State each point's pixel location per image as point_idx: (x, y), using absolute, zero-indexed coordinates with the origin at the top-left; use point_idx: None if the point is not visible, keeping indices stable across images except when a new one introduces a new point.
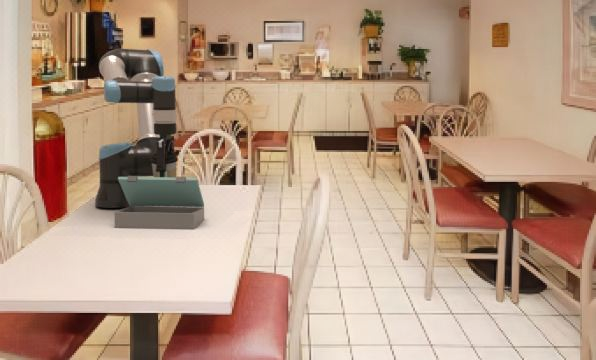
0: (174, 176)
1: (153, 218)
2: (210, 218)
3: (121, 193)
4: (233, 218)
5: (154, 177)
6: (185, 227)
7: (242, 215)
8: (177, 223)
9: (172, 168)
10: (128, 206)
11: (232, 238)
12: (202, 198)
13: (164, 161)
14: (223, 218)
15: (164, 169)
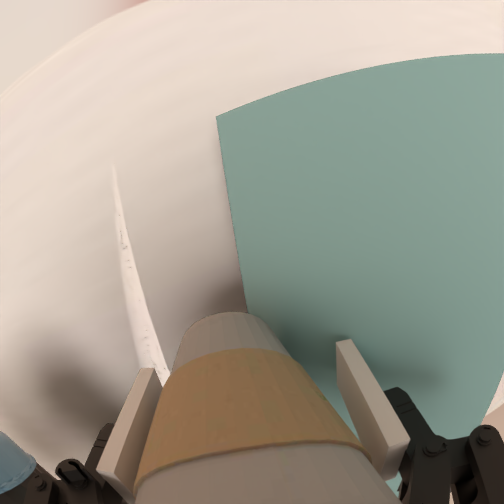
0: (267, 389)
1: None
2: (141, 142)
3: None
4: (124, 61)
5: (486, 409)
6: None
7: (60, 71)
8: None
9: (331, 459)
10: None
11: (477, 7)
12: (265, 97)
13: (497, 499)
14: (130, 93)
15: (486, 430)
